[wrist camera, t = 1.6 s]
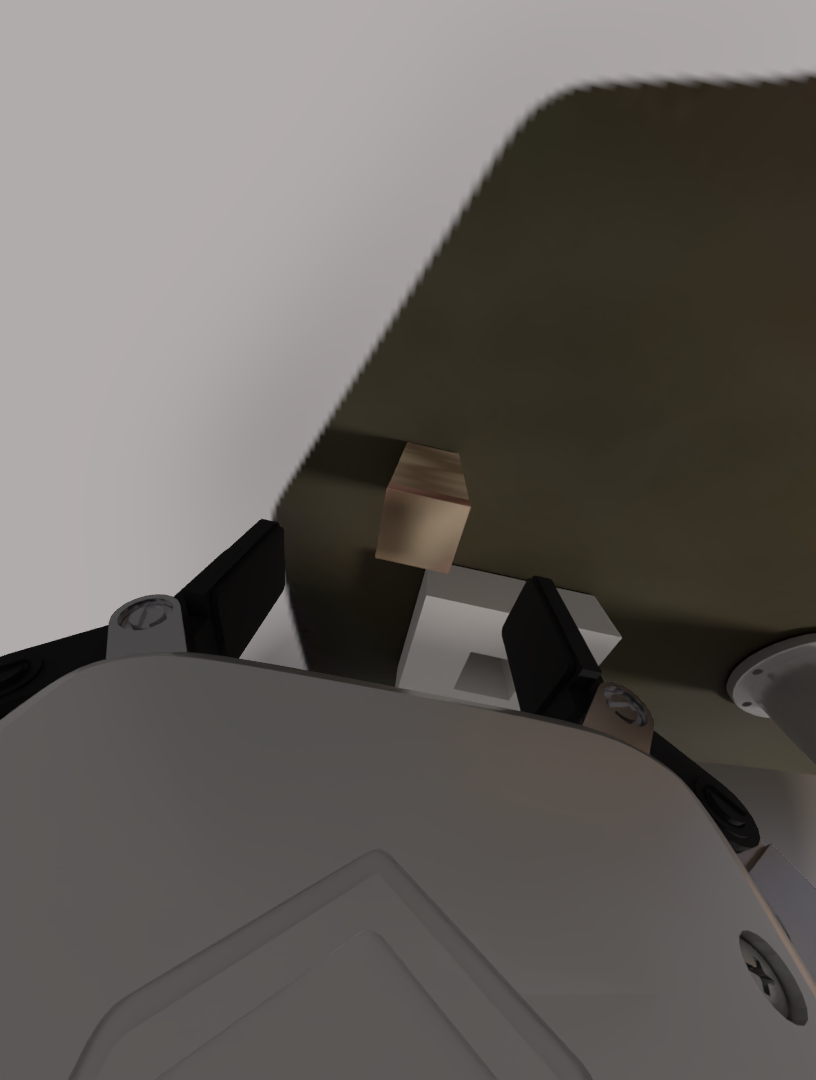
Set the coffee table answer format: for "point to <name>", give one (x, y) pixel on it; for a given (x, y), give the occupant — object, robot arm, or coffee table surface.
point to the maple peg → (424, 509)
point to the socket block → (479, 635)
